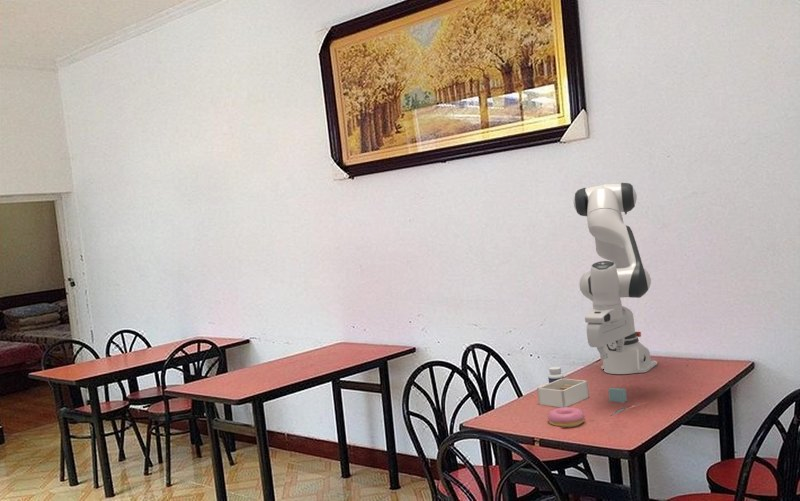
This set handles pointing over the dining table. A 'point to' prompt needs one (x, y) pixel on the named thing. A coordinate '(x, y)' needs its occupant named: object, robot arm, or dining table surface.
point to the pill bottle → (555, 374)
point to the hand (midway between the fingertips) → (612, 355)
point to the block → (566, 387)
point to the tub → (563, 393)
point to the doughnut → (566, 417)
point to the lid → (618, 396)
